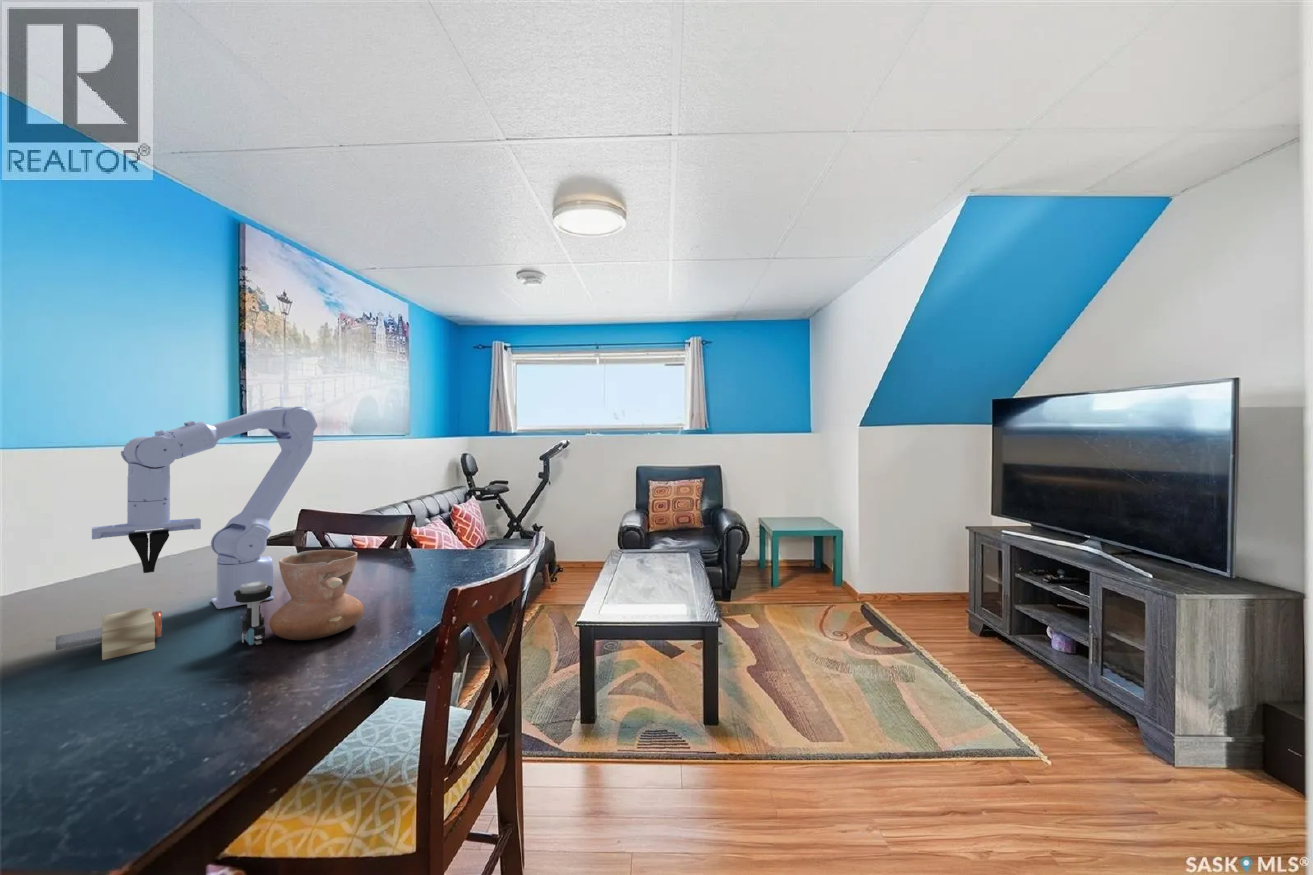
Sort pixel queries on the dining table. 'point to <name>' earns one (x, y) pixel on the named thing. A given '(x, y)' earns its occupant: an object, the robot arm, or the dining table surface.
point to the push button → (253, 610)
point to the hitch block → (127, 633)
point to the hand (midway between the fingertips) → (148, 571)
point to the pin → (96, 635)
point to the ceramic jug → (316, 595)
